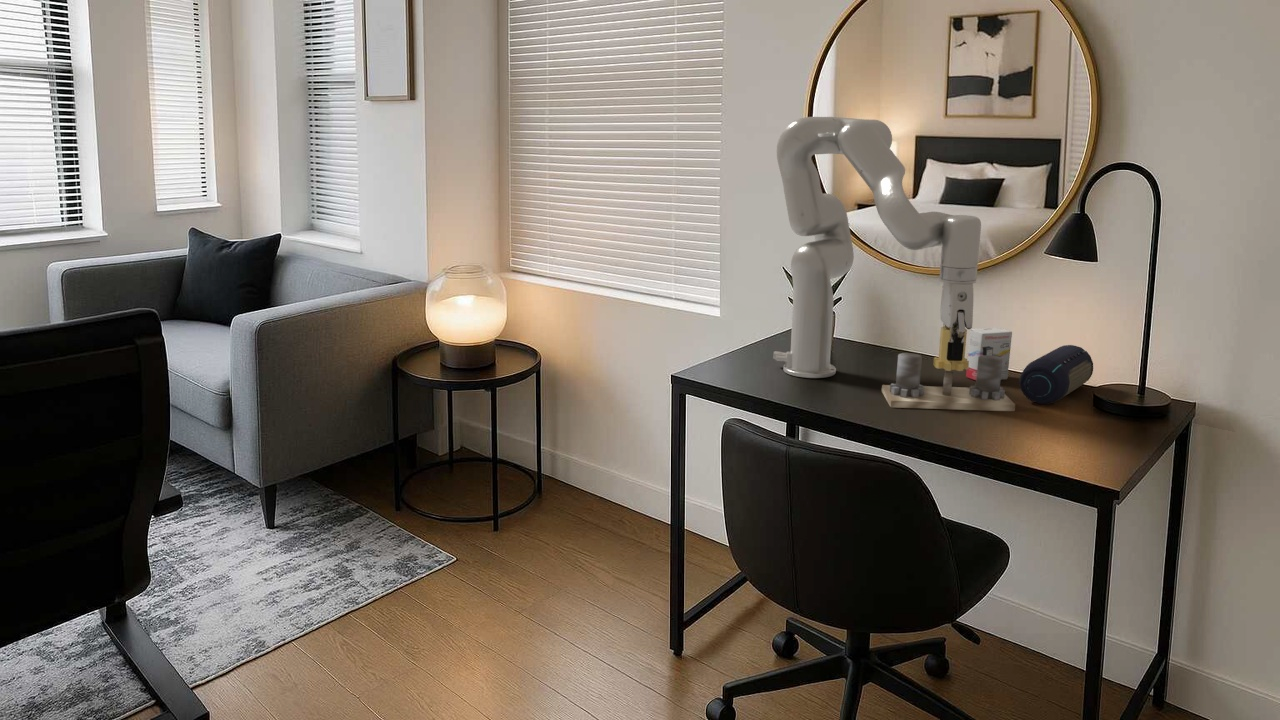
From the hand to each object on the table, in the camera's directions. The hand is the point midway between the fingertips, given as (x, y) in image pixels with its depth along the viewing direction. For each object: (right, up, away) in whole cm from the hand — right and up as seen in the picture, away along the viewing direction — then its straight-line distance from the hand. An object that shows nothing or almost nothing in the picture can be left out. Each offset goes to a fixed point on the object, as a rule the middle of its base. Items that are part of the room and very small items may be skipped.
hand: (951, 356), depth 211 cm
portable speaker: (+26, -9, +9) cm, 29 cm away
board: (0, -10, +3) cm, 10 cm away
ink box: (+15, -5, +21) cm, 26 cm away
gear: (0, -2, +1) cm, 2 cm away
